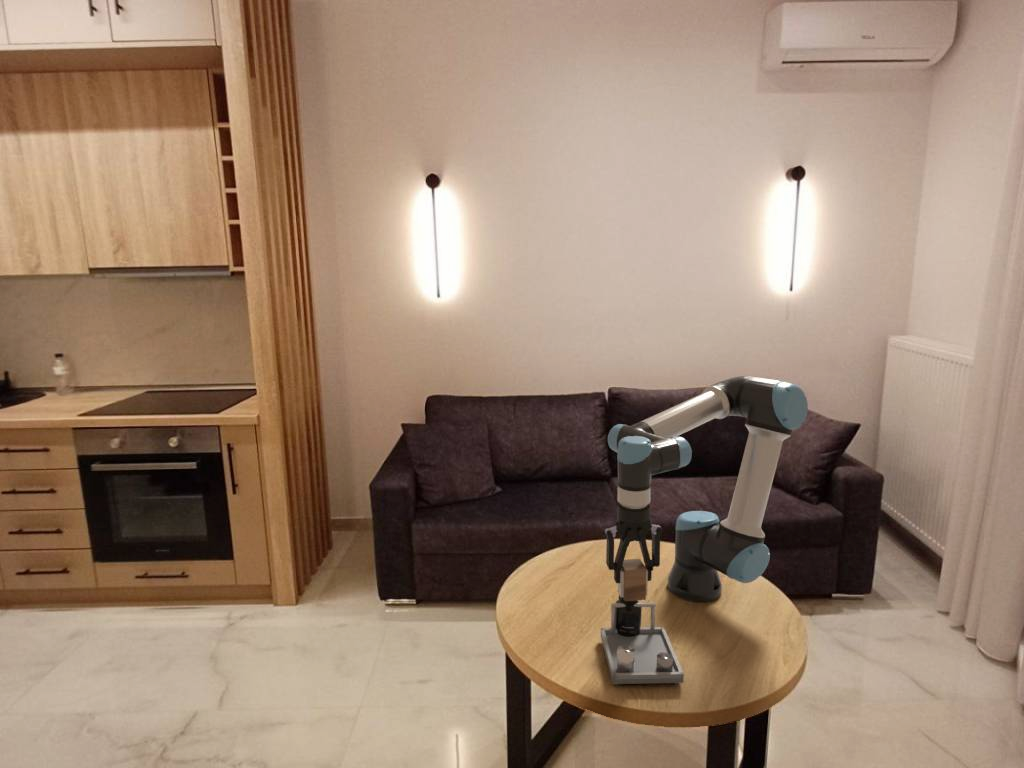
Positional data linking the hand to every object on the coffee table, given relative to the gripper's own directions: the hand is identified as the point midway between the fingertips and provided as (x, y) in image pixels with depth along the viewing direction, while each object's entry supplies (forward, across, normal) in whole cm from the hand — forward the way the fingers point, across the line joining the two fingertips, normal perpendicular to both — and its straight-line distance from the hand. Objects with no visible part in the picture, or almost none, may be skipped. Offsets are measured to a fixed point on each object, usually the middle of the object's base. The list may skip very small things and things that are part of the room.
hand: (632, 593), depth 148 cm
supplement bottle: (+16, -1, -7) cm, 17 cm away
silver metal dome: (+14, -5, +10) cm, 18 cm away
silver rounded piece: (+14, +4, +9) cm, 17 cm away
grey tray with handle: (+16, -1, +4) cm, 17 cm away
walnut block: (0, 0, 0) cm, 0 cm away
